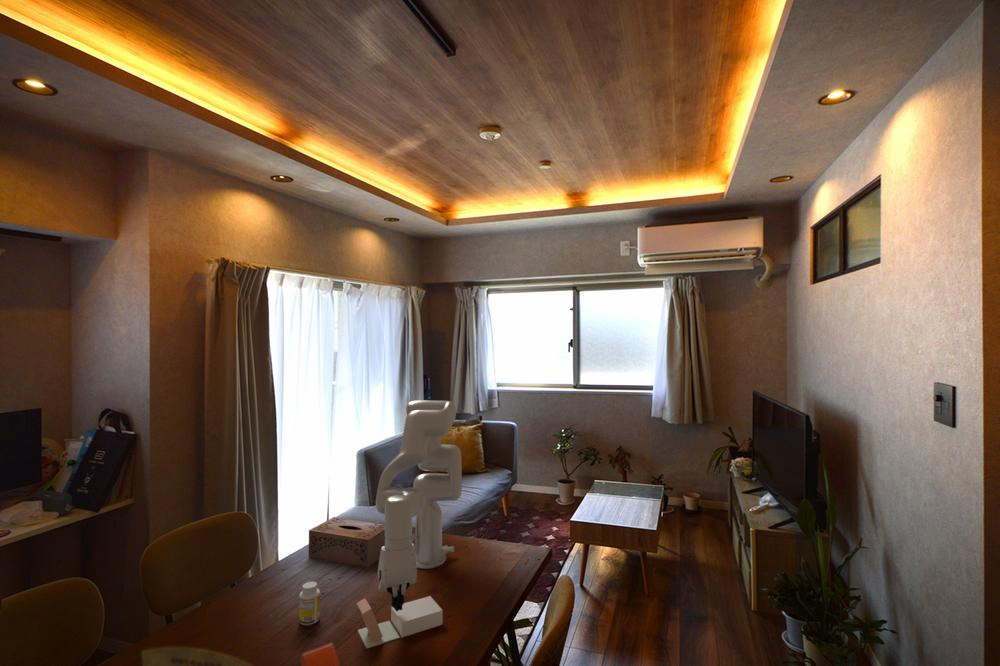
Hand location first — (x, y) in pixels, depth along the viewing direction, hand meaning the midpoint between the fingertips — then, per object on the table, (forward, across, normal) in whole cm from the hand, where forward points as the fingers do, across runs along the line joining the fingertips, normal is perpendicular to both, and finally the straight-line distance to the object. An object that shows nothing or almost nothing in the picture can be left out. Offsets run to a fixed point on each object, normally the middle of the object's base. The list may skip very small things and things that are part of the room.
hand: (397, 608), depth 136 cm
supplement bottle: (+6, +20, -17) cm, 27 cm away
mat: (+6, +5, 0) cm, 8 cm away
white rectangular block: (+6, -6, 0) cm, 8 cm away
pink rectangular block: (+1, +7, 0) cm, 7 cm away
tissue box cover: (+6, -1, -56) cm, 56 cm away
